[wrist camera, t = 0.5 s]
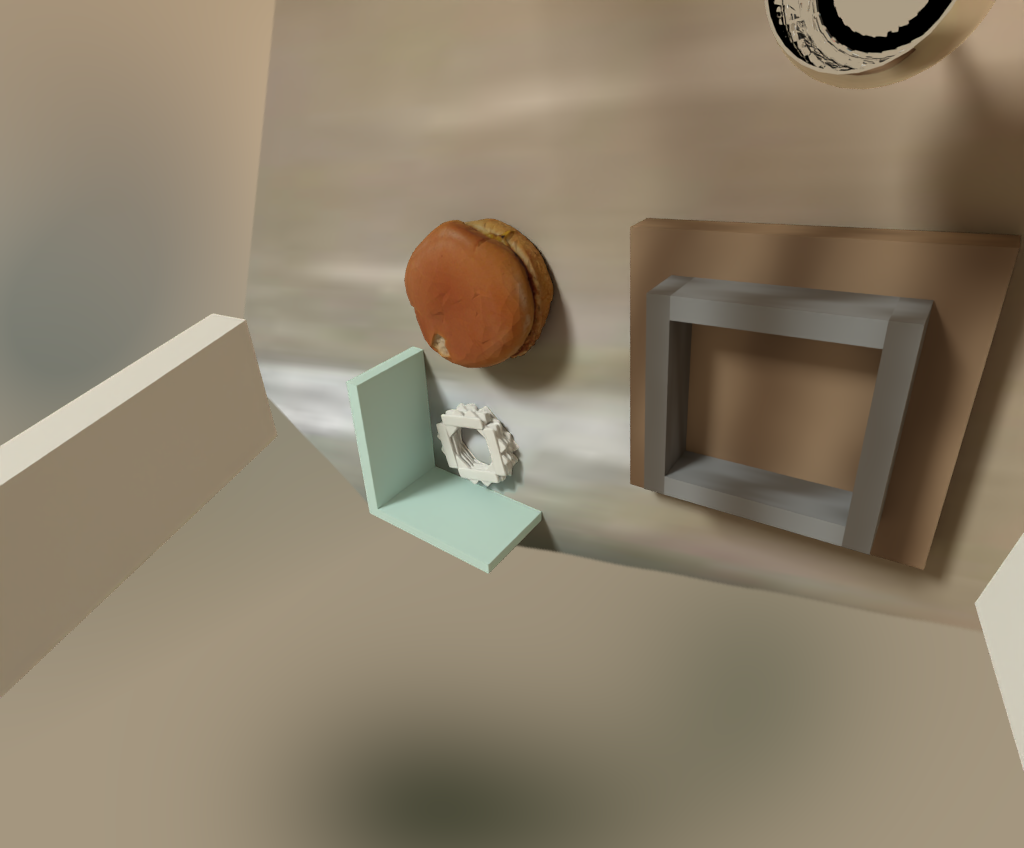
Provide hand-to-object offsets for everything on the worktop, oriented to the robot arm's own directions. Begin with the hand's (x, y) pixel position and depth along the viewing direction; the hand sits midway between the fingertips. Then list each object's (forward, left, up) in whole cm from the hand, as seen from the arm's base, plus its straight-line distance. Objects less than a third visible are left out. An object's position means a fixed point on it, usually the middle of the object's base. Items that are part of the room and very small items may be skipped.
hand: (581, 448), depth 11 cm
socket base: (+2, +10, -24) cm, 26 cm away
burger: (+21, +7, -25) cm, 33 cm away
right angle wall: (+24, +19, -25) cm, 40 cm away
